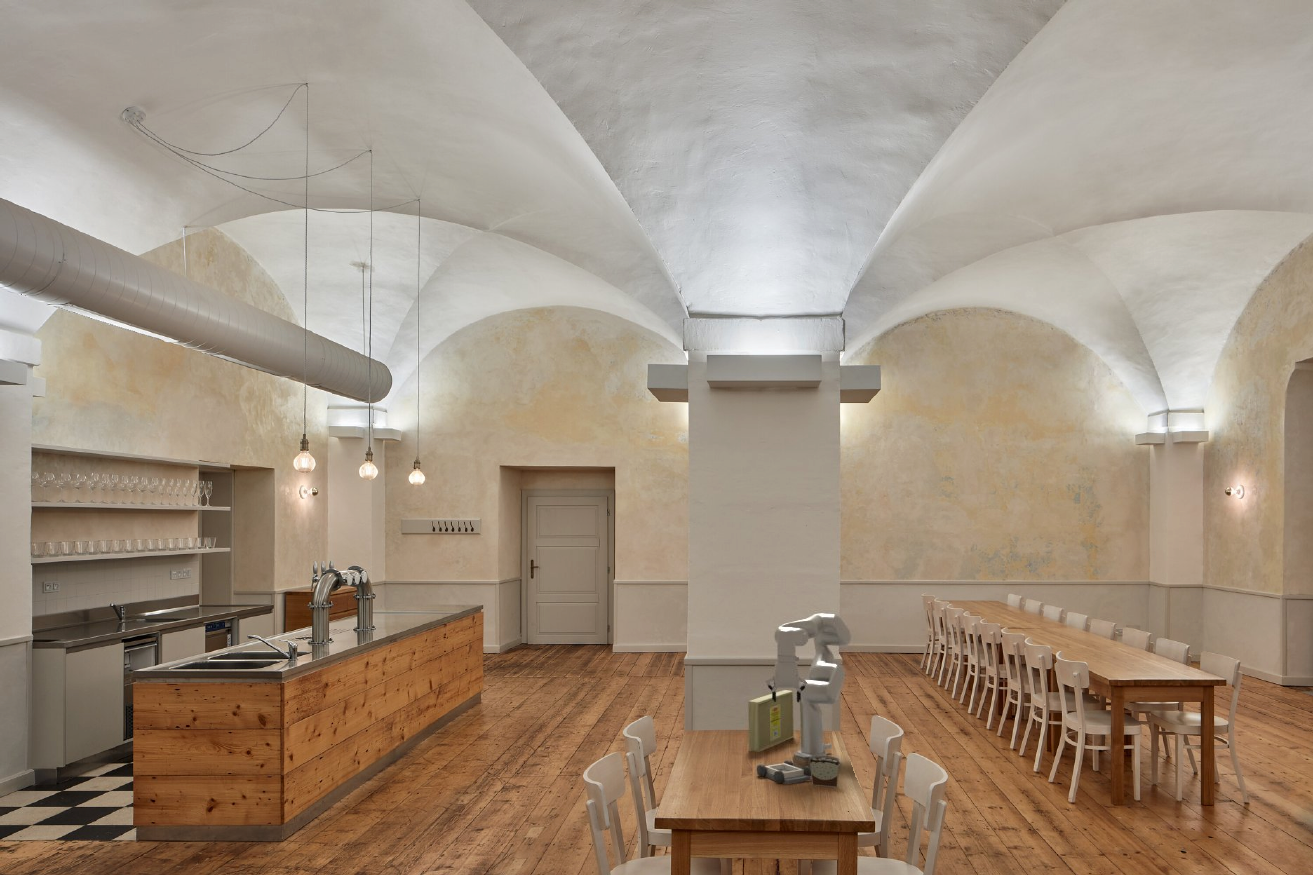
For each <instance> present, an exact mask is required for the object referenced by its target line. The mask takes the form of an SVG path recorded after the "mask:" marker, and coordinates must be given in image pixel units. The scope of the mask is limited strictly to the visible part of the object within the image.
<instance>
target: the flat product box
mask: <svg viewBox="0 0 1313 875" xmlns="http://www.w3.org/2000/svg"><path fill="white" fill-rule="evenodd" d="M793 691H794V690H793ZM793 691H792V690H789V689H788V690H786V689H784V690H780V691H777V692H776V702H774V700H772V693H770V694H767V695H763V696H761V697H757V698H754V699H751V700H748V701H747V702H748V708H747V709H748V749H749V750H751V751H750V752H754V751H755V752H756V753H758V752H759V753H760V752H762V751H764V750H767V749H769V748H768V747H770V748H771V747H774V745H775V746H778V745H780V744H782V743H784V742H786V740H787V741H788V740H789V741H790V739H793V738H794V737H795V736H794V735H795V734H794V733H795V732H794V731H795V730H794V727H795V726H794V722H795V721H794V692H793ZM749 750H748V751H749Z"/></svg>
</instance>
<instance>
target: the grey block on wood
mask: <svg viewBox="0 0 1313 875" xmlns="http://www.w3.org/2000/svg"><path fill="white" fill-rule="evenodd" d="M810 757H812V756H811V755H808V754H805V753H793V756H792V763H793V766H794V767H797V768H800V769H802V767H805V766H808V767H810V763H808V762H809V759H810ZM810 769H811V768H810Z"/></svg>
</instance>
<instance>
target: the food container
mask: <svg viewBox="0 0 1313 875" xmlns="http://www.w3.org/2000/svg"><path fill="white" fill-rule="evenodd" d="M808 763H810V768H811V783H812V786H817V785H820V787H828V788H829V787H831V788H838V781H839V770H840V767H841V761H840V759H839V758H838V757H835V756H832V755H831V756H830V755H826V756H813V757H810V759H809V762H808Z"/></svg>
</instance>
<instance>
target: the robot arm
mask: <svg viewBox="0 0 1313 875" xmlns="http://www.w3.org/2000/svg"><path fill="white" fill-rule="evenodd" d="M773 637H774V640H775V641H774V642H776V644H777V645H776V646H777V650H776V651H777V652H776V653H777V656H776V657H777V658H776V659H777V660H776V662H775V663H774V672H773V676H772V677H770V678H768V679H766V680H765V683H766V686H767V687H768V689H769V690H770V691H771V694H772V700H774V702H776V693H777V692H776V691H777V689H778V688H779V689H780V688H783V689H784V688H787V689H788V688H789V689H796V702H797V703H799V708H800V709H799V711H800V714H799V715H800V718H799V719H800V749H798V750H797V753H805V754H808V755H811V756H812V757H813V756H828V753H827V751H826V750H827V749H831V748H832V744H831V743H824V734H823V733H824V731H823V730H824V729H823V728H824V727H823V726H824V725H823V724H824V723H823V719H824V716H823V712H822V709H821V707H820V705H821V704H822V705H830V706H831V705H834V704H835V703H837V700H838V699H839V696H840V693H841V690H842V687H843V686H844V682H845V679H846V678H845V677H846V671H845V668H844V666H843V664H840V663H835V662H834V661H835V657H834V653H833V652H832V651H831V649H830V648H829V646H835V647H847V646H848V645H849V644H850V643H851V638H852V634H851V632H850V628H849V627H848V625H846V623H845V621H844V620H843V619H842V618H841V617H840V616H839V615H838V614H835V613H814V614H812V615H810V616H809V617H807V618H805V619H799V620H795V621H791V622H788V623H787V622H786V623H784V624H782V625H780V626H778V627H777V628H776V629H775V631H774V636H773ZM810 639H813V643H814V650H815V655H814V657H813V660H812V663H811V665H810V668H809V670H808V679H803V678H802V677H799V668H798V662H797V661H799V660H800V656H796V647H804V646H806V644H807V643H808V641H809V640H810ZM771 682H773V686H772V685H771ZM819 704H820V705H819ZM797 753H796V754H797Z"/></svg>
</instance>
